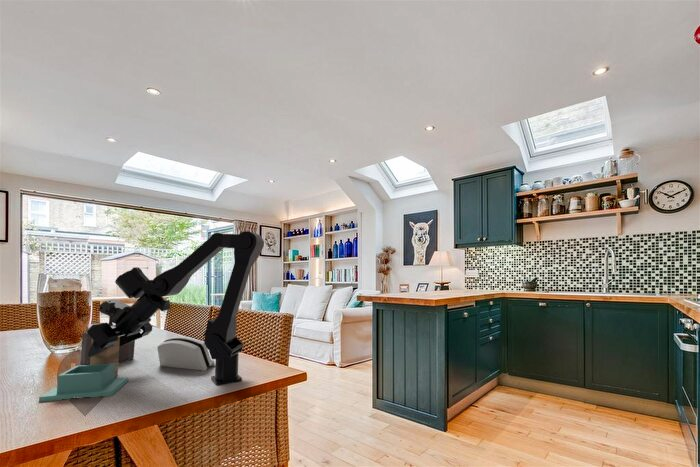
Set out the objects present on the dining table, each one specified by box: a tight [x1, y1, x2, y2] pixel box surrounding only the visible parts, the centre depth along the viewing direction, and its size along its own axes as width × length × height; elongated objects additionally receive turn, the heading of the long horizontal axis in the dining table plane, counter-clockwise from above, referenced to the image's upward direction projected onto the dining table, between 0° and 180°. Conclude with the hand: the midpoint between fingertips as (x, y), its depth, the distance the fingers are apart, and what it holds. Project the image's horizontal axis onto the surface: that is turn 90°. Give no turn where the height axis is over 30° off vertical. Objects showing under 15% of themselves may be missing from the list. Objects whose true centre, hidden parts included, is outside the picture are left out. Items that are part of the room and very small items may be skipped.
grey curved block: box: [157, 336, 216, 372], centre depth 106 cm, size 17×5×10 cm, turn 71°
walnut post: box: [90, 327, 120, 377], centre depth 96 cm, size 4×4×13 cm
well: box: [38, 363, 129, 403], centre depth 86 cm, size 14×11×5 cm
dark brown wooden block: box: [79, 316, 136, 365], centre depth 112 cm, size 16×11×18 cm
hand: (100, 352), depth 96 cm, fingers open, 8 cm apart
